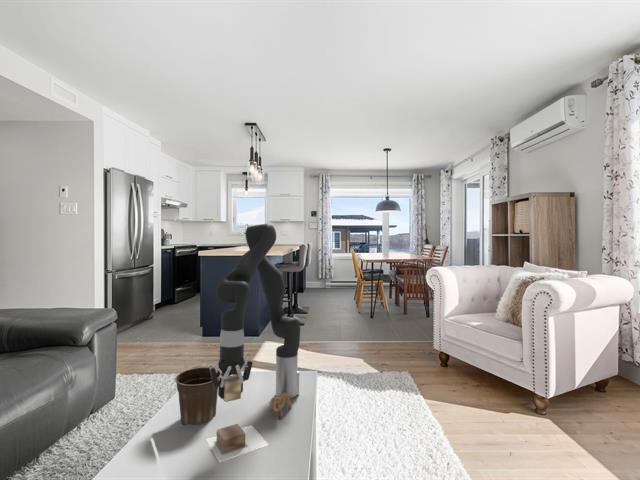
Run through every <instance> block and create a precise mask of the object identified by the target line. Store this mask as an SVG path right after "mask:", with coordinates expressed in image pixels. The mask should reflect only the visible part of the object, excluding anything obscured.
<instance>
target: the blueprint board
mask: <svg viewBox="0 0 640 480" xmlns="http://www.w3.org/2000/svg"><path fill="white" fill-rule="evenodd" d="M241 428H242V430H243V431H244V432H245V446H243V447H240V448H237V449H234V450H231V451H228V452H226V453H223V451H222V450H221V448H220V447H219V445H218V443H217V435H216V436H212V437H209V438H205V442H206V443H207V444H208V446H209V448H210V449H211V451H212V453H213V454H214V457H215V459H216V460H217V461H218V463H220V464H221V463H222V462H225V461H228V460H231V459H233V458H236V457H239V456H242V455H245V454H247V453H251V452H253V451H256V450H259V449H261V448H264V447H267V446H270V445H269V443H268V442H267V441H266V440H265V439H264V438H263V436H262V435H261V434H260V433H259V432H258V431H257V430H256V429H255V427H254V426H253V425H248V426H244V427H241Z"/></svg>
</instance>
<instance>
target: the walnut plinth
mask: <svg viewBox="0 0 640 480" xmlns="http://www.w3.org/2000/svg"><path fill="white" fill-rule="evenodd" d="M242 428H243V427H241V426H240V424H238V423H234V424H231V425H227V426H224V427H221V428H218V429H216V436H217V443H218V445H219V447H220V448H221V450H222V451H223V453H226V452H228V451H231V450H234V449H237V448H240V447H243V446H245V432H244V431H243V430H242Z"/></svg>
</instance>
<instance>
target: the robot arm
mask: <svg viewBox="0 0 640 480" xmlns="http://www.w3.org/2000/svg"><path fill="white" fill-rule="evenodd" d="M276 231H277V230H276V229H275V227H274V225H272V223H271V224H270V223H263V224H254V225H250V226H248V227H247V228H246V229H245V240H246V243H247V246H248V249H249V250H248V251H246V252H245V253H244V254H243V255H241V257H240V258H239V259H238V261H237V262H236V265H234V268H233V269H232V270H231V271H230V272H229V273H227V274H226V276H225V277H223V279H222V280H220V282H219V284H218V285H217V287H216V290H215V295H216V297H217V300H218V301H220V302H222V303H231V304H235V307H234V308H231V309H226V310H223V312H222V313H221V320H220V321H221V324H220V325H221V326H220V327H221V329H220V336H219V359H218V360H219V361H218V362H217V365H211V366H209V370H210V374H211V379H212V383H213V384H214V386H216V387H217V386H218V394H217V396H218V397H219V398H220V399H221V400H223V399H224V384H225V381H226V380H227V378H228V376H232V375H236V376H237V377H238V378H239V379H241V394H242V393H243V391H244V382H246V381H249V379H250V376H251V372H252V367H253V364H254V363H253V361H251V360H250V359H247V360H245V359H244V355H245V354H244V352H245V332H244V331H245V330H244V325H245V314H246V313H245V312H246V308H247V305H248V302H249V299H250V296H251V295H250V294H251V287H250V285H249V283H250V282H251V281H252V279H253V277H254V275H255V273H256V271H257V274H258V277H259V281H260V284H261V285H260V286H261V288H262V292H263V294H264V298H265V302H266V306H267V308H268V309H267V310H268V312H269V318H270V323H271V324H270V325H271V328H272V332H273V334H274V335H275V337H276V338H280V339H284V341H283V344H282V345H279V346H278V347H277V348H276V351H275V396H278V397H280V396H281V394H283V393H287V394H288V395H289V398H290V399H293V398H296V397H297V396H299V395H300V371H298V363H299V361H298V359H299V356H298V351H299V348H300V341H301V324H300V321H299V320H298V319H297V318H296V317H290V316H286V314H285V312H284V308H283V307H284V306H283V301H284V297H285V294H286V285H285V281H284V278H283V277H284V276H283V274H282V272H281V270H279V268H277V266H276V265H275V264H274V263H273V262H272V261H270V260H269V259H268V257H267V254H268V253H269V251H271V249H272V247H273V246H274V245H275V243H276V240H277V232H276ZM243 366H244V371H243V374H242V371H241V370H242V368H243ZM218 370H220V371H221V374H220V378H219V381H218V380H217V375H216V373H217V372H218Z"/></svg>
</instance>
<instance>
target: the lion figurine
mask: <svg viewBox="0 0 640 480" xmlns="http://www.w3.org/2000/svg"><path fill="white" fill-rule="evenodd" d="M290 399H291V398H289V395H288V394H287V393H283V394H281V396H280V397H278V396H276V395H275V396H273V397H272V398H271V400H270V406H269V407H270V410H271V412H272V415H273V416H276V413H278V419H279V420H281V419H282V411H283V407H284V406H285V403H286V405H288V409H289V410H291V409H292V402H291V400H290ZM282 420H283V419H282Z"/></svg>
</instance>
